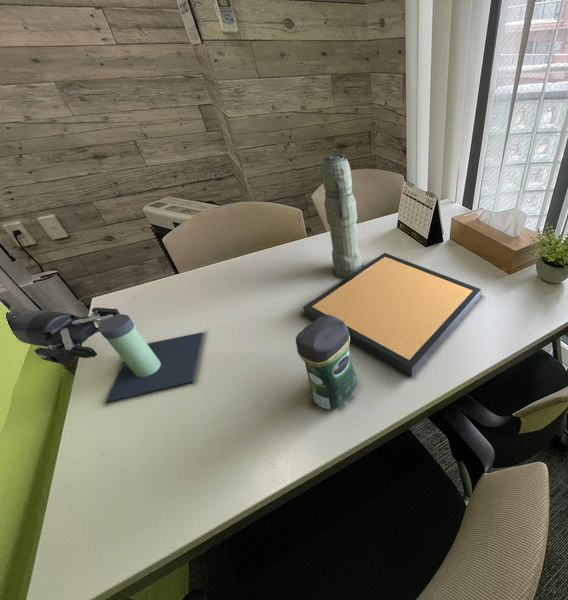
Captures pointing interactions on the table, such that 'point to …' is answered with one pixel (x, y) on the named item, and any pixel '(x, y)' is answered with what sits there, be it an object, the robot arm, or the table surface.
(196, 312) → the table surface
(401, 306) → the cork board
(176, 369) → the mat
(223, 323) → the table surface
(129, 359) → the canister
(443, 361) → the table surface
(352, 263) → the thermos
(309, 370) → the coffee jar
